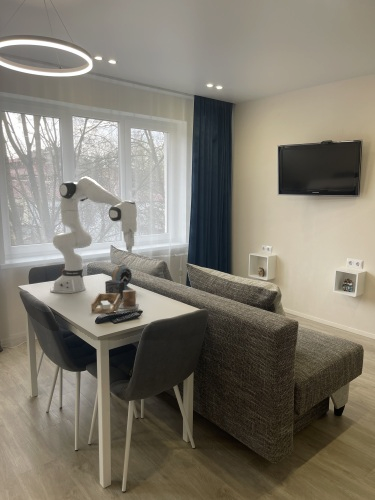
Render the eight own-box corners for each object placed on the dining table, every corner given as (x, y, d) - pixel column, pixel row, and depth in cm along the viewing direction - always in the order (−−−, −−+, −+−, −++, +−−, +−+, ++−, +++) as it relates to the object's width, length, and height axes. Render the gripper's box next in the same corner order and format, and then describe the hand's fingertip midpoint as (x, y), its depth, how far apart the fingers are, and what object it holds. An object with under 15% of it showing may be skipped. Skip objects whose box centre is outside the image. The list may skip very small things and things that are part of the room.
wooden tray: (91, 312, 202) (91, 303, 201) (98, 301, 223) (98, 293, 222) (115, 312, 203) (115, 303, 202) (120, 301, 223) (120, 293, 223)
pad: (119, 308, 210) (119, 308, 210) (121, 304, 218) (121, 303, 218) (137, 308, 210) (137, 308, 210) (138, 304, 218) (138, 303, 218)
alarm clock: (118, 293, 240) (118, 267, 238) (108, 291, 246) (108, 265, 244) (134, 289, 252) (134, 264, 249) (124, 287, 258) (124, 262, 255)
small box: (125, 296, 233) (125, 280, 232) (120, 299, 227) (119, 283, 226) (110, 295, 237) (110, 279, 235) (105, 297, 231) (104, 281, 229)
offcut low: (95, 312, 205) (95, 307, 204) (98, 309, 209) (98, 305, 208) (111, 312, 204) (111, 308, 203) (113, 310, 208) (113, 306, 207)
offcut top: (100, 305, 209) (100, 301, 208) (107, 304, 210) (107, 300, 210) (103, 309, 202) (103, 305, 201) (110, 308, 203) (110, 304, 203)
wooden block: (123, 307, 211) (123, 291, 210) (122, 305, 214) (122, 290, 213) (135, 306, 214) (135, 291, 212) (134, 304, 216) (134, 289, 215)
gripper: (136, 230, 207) (136, 254, 209) (132, 226, 226) (132, 248, 229) (125, 230, 205) (125, 254, 208) (121, 226, 225) (121, 248, 227)
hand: (128, 251), depth 218 cm, fingers open, 8 cm apart
